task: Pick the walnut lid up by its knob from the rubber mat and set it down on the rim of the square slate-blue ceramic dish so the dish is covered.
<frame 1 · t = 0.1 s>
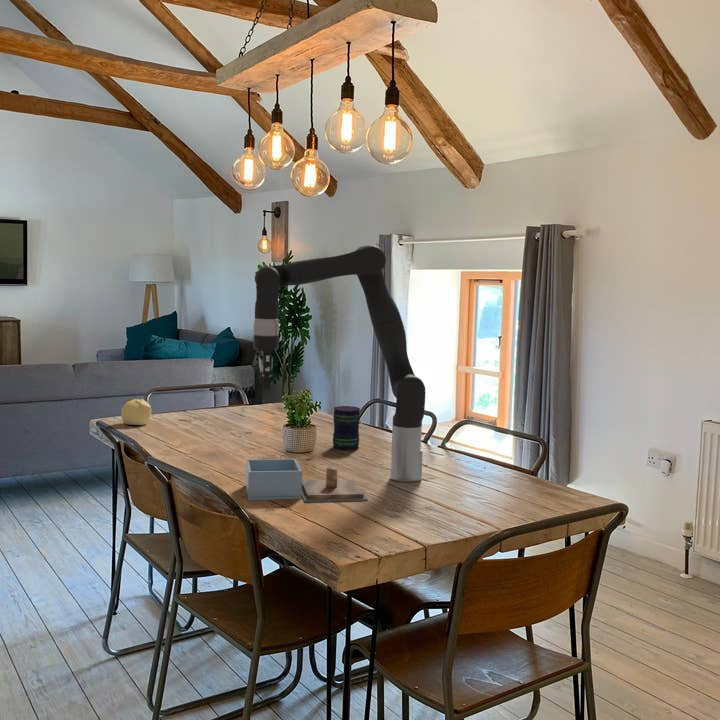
hand: (265, 387, 233), 29 cm above the table, tool pointing down, fingers open, 8 cm apart
bread roll: (267, 477, 242), on the table
mat: (331, 492, 226), on the table
pale yellow rounded lump: (136, 425, 318), on the table
storage jar: (345, 448, 287), on the table
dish: (272, 492, 225), on the table
lid: (331, 491, 226), resting on mat
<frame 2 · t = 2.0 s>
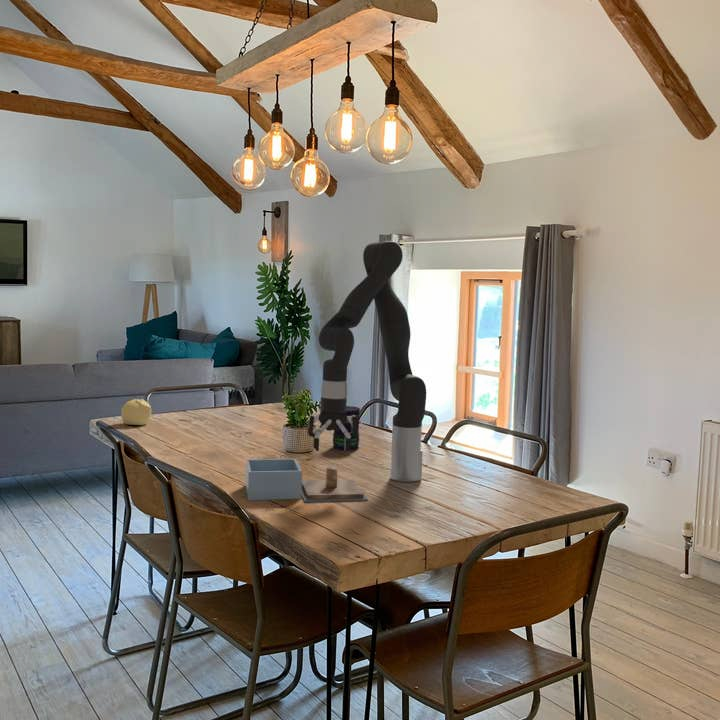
hand: (331, 450, 225), 13 cm above the table, tool pointing down, fingers open, 8 cm apart
nothing on the table moved.
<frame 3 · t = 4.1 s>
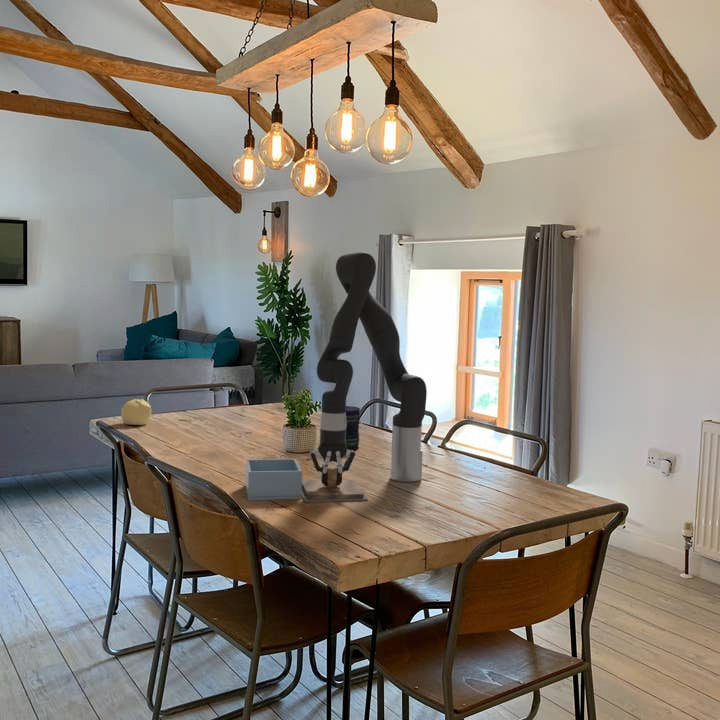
hand: (331, 484, 226), 2 cm above the table, tool pointing down, fingers closed on lid, 3 cm apart
lid: (331, 491, 226), resting on mat, touching gripper
everything else where it was.
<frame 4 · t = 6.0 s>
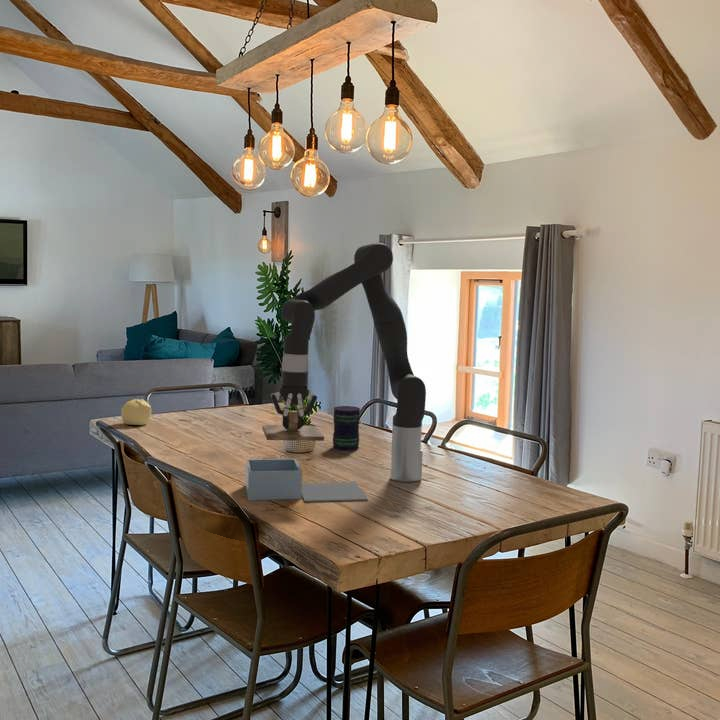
hand: (292, 428, 223), 19 cm above the table, tool pointing down, fingers closed on lid, 3 cm apart
lid: (292, 434, 223), point 17 cm above the table, touching gripper
everything else where it was.
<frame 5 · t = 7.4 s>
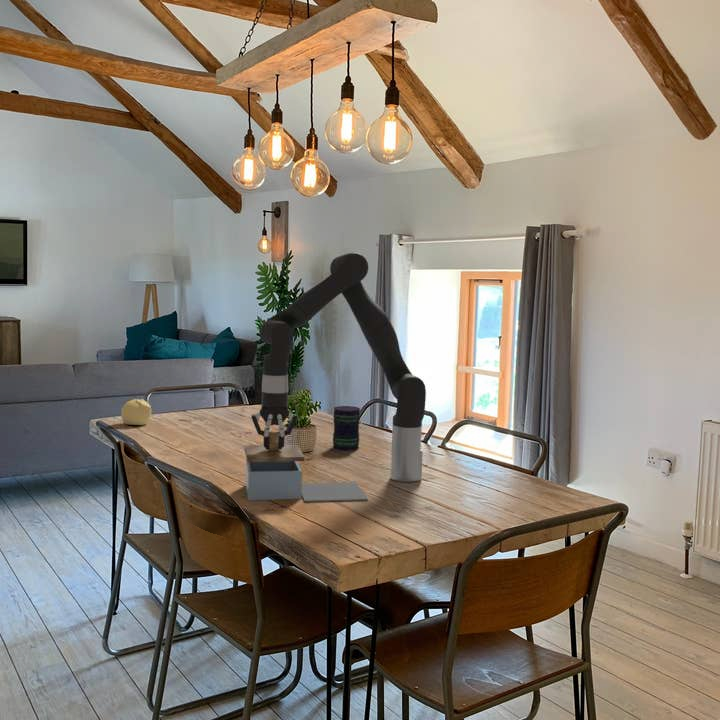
hand: (273, 448, 223), 13 cm above the table, tool pointing down, fingers closed on lid, 3 cm apart
lid: (273, 454, 224), point 11 cm above the table, touching gripper
everything else where it was.
when the fingers open (11 cm above the table, at t = 8.4 s): lid drops 1 cm, resting on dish.
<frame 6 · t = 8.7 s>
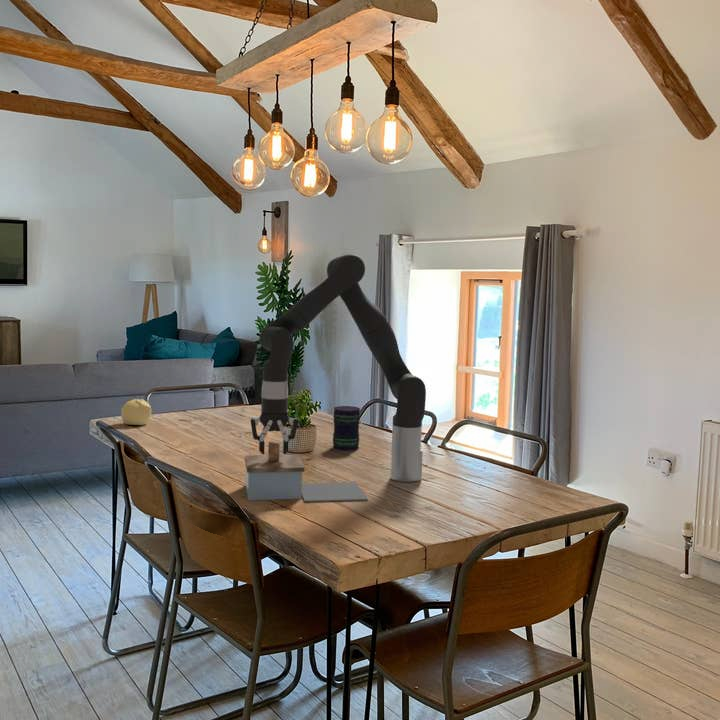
hand: (273, 453, 223), 11 cm above the table, tool pointing down, fingers open, 5 cm apart
lid: (273, 465, 224), point 8 cm above the table, touching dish
everything else where it was.
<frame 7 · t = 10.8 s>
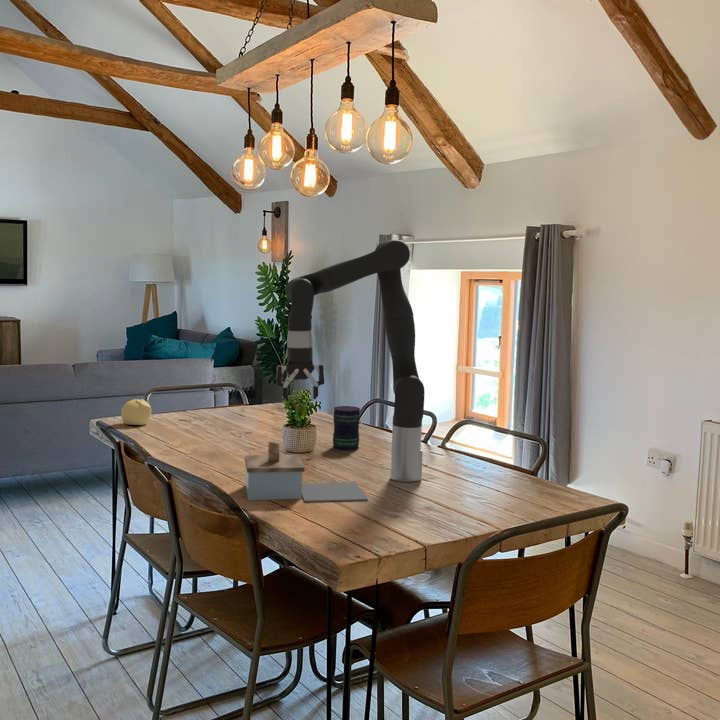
hand: (300, 399, 232), 26 cm above the table, tool pointing down, fingers open, 8 cm apart
nothing on the table moved.
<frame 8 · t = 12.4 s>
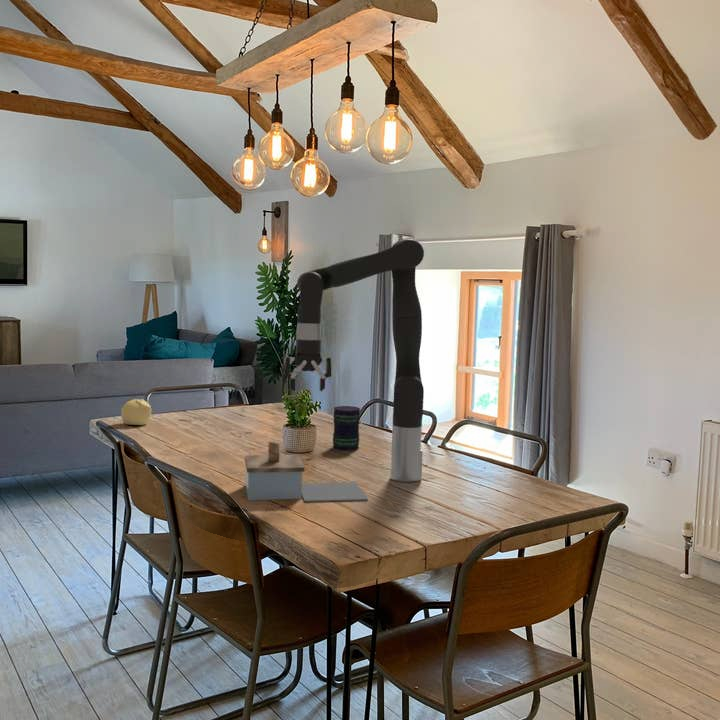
hand: (307, 390, 236), 28 cm above the table, tool pointing down, fingers open, 8 cm apart
nothing on the table moved.
at the end: lid 0.1 cm off-centre on the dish, point 8.0 cm above the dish's base; lid tilted 0°; the gripper is holding nothing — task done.
